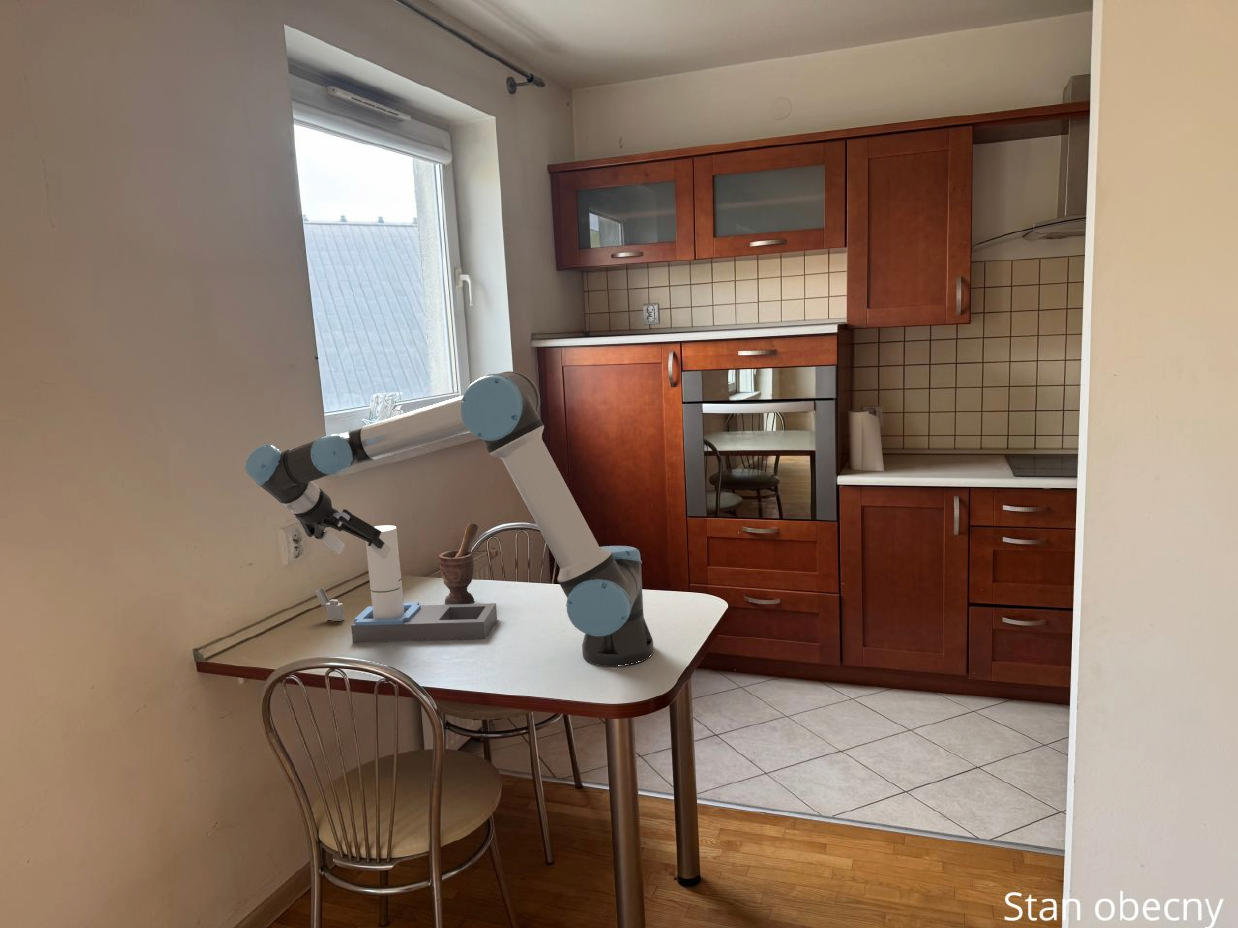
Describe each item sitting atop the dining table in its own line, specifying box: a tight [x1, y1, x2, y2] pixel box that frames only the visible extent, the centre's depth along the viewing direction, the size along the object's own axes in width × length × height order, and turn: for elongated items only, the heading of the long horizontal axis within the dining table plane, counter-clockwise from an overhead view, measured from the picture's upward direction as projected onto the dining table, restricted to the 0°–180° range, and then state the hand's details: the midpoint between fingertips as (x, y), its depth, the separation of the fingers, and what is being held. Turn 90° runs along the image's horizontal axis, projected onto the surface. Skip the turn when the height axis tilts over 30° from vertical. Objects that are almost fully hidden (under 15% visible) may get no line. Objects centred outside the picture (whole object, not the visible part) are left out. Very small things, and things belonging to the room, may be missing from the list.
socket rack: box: [350, 601, 498, 643], centre depth 200 cm, size 31×13×5 cm, turn 86°
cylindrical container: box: [365, 524, 405, 619], centre depth 198 cm, size 7×7×25 cm
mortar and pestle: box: [438, 522, 479, 605], centre depth 219 cm, size 12×9×20 cm
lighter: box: [314, 587, 345, 622], centre depth 211 cm, size 7×2×8 cm, turn 66°
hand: (363, 551), depth 193 cm, fingers open, 13 cm apart
